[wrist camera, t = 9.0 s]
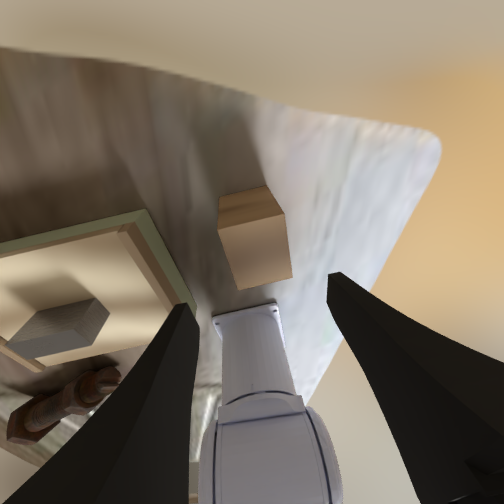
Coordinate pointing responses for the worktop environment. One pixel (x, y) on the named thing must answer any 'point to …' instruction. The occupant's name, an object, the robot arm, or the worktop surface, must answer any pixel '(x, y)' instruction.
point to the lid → (76, 299)
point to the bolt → (60, 405)
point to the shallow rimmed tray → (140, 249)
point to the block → (254, 237)
